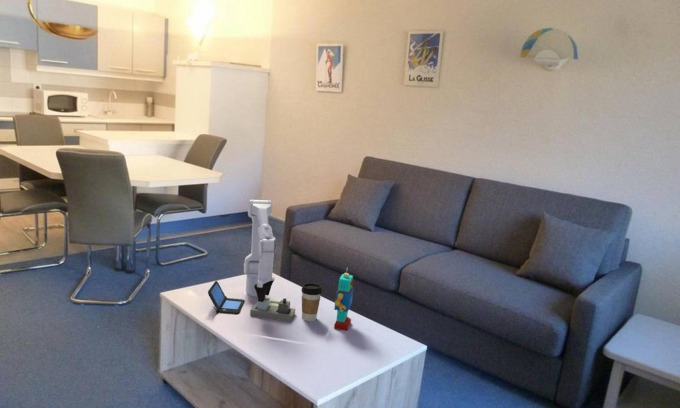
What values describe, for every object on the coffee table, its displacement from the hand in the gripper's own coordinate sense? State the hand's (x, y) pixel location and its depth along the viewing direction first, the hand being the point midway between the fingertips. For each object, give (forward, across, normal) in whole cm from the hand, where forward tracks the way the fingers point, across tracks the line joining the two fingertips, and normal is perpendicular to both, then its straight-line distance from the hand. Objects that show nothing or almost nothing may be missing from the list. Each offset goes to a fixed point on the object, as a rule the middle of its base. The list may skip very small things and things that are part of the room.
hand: (263, 298), depth 216 cm
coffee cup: (+7, +2, -20) cm, 21 cm away
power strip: (+7, 0, -4) cm, 8 cm away
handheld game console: (+8, +2, +16) cm, 18 cm away
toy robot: (+7, +1, -34) cm, 34 cm away
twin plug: (+6, 0, -9) cm, 11 cm away
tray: (+7, +9, -4) cm, 12 cm away
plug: (+6, 0, 0) cm, 7 cm away
